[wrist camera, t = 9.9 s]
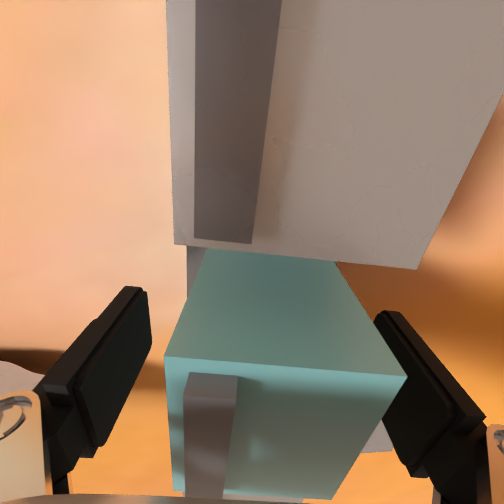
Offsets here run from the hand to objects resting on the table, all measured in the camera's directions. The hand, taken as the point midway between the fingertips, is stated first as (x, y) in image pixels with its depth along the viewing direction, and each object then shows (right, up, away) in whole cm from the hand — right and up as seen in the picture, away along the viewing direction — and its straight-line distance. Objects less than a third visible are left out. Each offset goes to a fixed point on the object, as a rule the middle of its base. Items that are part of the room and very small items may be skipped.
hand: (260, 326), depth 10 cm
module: (0, +1, +3) cm, 3 cm away
